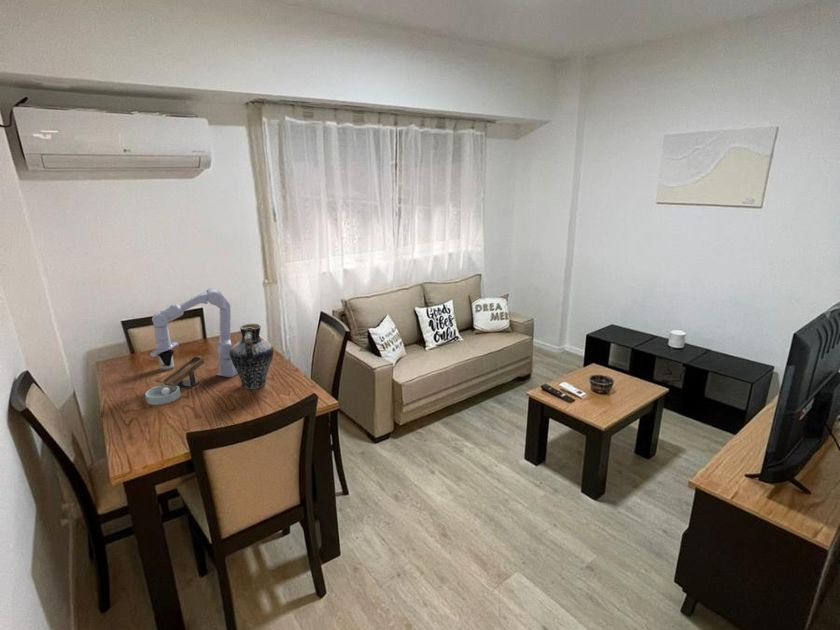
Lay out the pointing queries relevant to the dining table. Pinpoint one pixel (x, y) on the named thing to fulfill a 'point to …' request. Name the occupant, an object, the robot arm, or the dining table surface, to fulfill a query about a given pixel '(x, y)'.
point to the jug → (251, 357)
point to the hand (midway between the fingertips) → (167, 365)
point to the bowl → (156, 396)
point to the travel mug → (166, 366)
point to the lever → (180, 372)
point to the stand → (188, 383)
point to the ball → (165, 391)
